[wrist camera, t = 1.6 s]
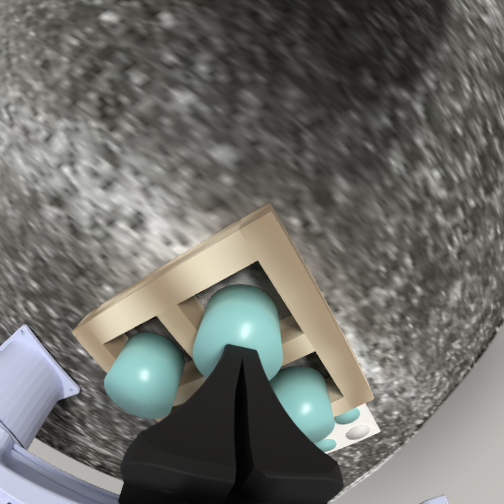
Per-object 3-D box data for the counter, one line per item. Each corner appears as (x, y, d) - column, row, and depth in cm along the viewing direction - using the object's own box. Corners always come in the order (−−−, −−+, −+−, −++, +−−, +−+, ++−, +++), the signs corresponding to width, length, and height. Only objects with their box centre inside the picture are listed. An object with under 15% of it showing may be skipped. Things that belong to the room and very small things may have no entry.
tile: (313, 454, 24) (314, 459, 23) (282, 423, 22) (282, 429, 21) (379, 428, 22) (380, 433, 22) (359, 392, 21) (361, 397, 20)
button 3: (281, 414, 18) (284, 453, 15) (252, 381, 17) (251, 423, 14) (334, 393, 18) (344, 432, 14) (310, 356, 17) (319, 398, 13)
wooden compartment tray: (205, 435, 23) (202, 456, 20) (87, 313, 19) (71, 332, 16) (365, 376, 20) (374, 398, 18) (269, 202, 16) (271, 211, 14)
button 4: (230, 355, 17) (225, 398, 13) (190, 305, 16) (174, 343, 12) (291, 328, 16) (298, 369, 13) (254, 271, 15) (253, 305, 12)
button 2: (152, 386, 18) (137, 423, 15) (113, 344, 17) (91, 379, 14) (197, 369, 17) (186, 410, 14) (156, 322, 16) (136, 360, 13)
